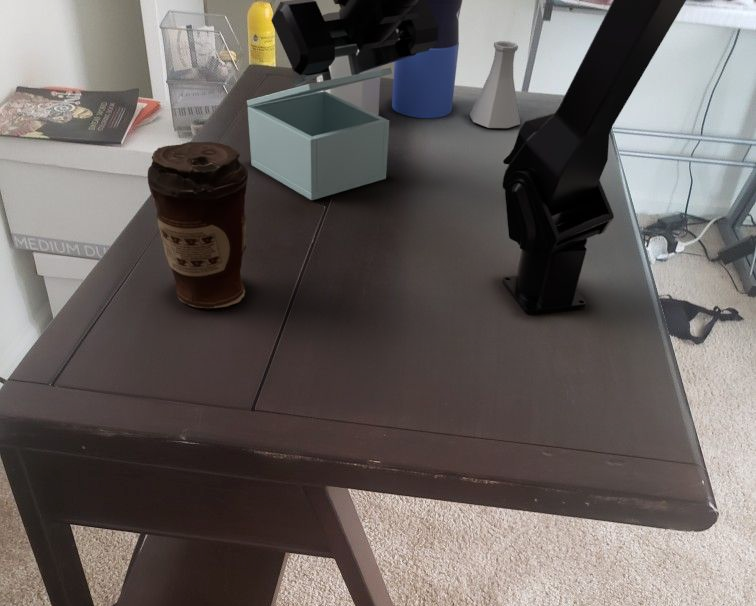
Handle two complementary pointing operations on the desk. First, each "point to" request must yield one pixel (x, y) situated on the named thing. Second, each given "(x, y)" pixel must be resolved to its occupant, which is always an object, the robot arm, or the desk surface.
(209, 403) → the desk surface
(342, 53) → the lid
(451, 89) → the water bottle
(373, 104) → the jar
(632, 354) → the desk surface
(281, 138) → the pale teal lidded box
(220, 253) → the coffee cup
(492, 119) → the flask
